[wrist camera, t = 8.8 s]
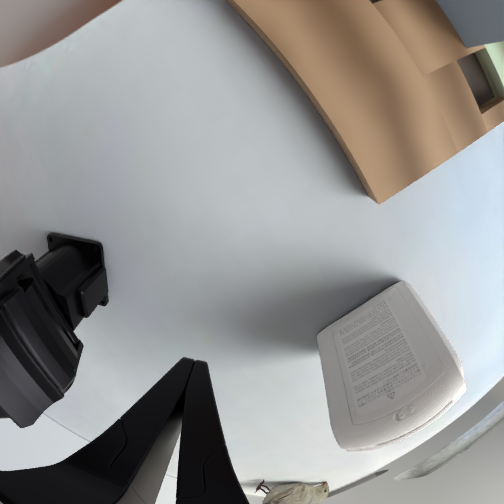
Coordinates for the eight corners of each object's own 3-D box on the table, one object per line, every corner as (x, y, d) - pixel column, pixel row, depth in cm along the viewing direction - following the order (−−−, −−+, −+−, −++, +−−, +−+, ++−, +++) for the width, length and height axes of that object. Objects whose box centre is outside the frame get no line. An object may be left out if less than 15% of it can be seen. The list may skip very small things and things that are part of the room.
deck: (369, 196, 19) (397, 219, 15) (224, -1, 13) (212, -34, 9) (531, 90, 12) (564, 93, 8) (437, -61, 7) (460, -79, 2)
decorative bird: (322, 484, 46) (324, 510, 39) (253, 483, 45) (251, 511, 38) (332, 477, 43) (335, 505, 37) (259, 476, 43) (257, 507, 36)
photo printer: (330, 357, 26) (352, 468, 15) (307, 334, 25) (325, 457, 14) (419, 301, 23) (480, 401, 12) (403, 270, 22) (477, 376, 10)
